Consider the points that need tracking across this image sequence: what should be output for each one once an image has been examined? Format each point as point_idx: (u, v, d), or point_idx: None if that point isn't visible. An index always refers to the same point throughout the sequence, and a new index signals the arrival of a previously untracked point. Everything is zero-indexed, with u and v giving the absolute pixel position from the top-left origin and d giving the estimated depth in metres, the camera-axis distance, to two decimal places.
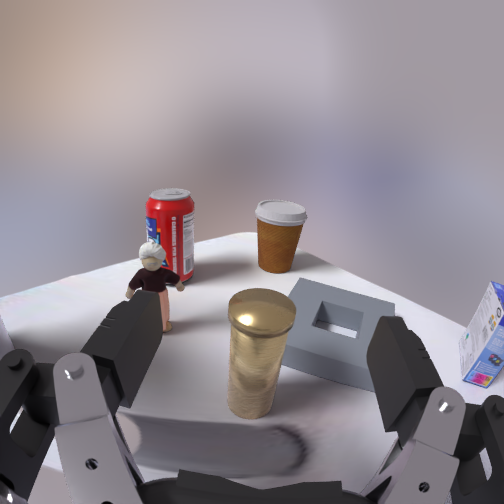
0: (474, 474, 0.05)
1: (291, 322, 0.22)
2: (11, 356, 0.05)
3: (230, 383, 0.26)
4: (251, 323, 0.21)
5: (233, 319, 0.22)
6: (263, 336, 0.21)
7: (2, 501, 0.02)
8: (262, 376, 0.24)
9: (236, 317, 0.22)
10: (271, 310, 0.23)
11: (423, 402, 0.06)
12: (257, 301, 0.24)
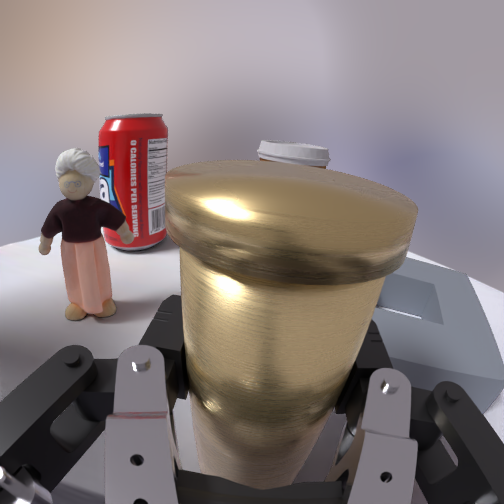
0: (438, 460, 0.05)
1: (414, 222, 0.05)
2: (69, 352, 0.06)
3: (196, 437, 0.09)
4: (255, 203, 0.04)
5: (172, 203, 0.05)
6: (316, 272, 0.04)
7: (23, 491, 0.03)
8: (288, 435, 0.07)
9: (184, 188, 0.05)
10: (329, 186, 0.06)
11: (367, 382, 0.07)
12: (273, 171, 0.07)
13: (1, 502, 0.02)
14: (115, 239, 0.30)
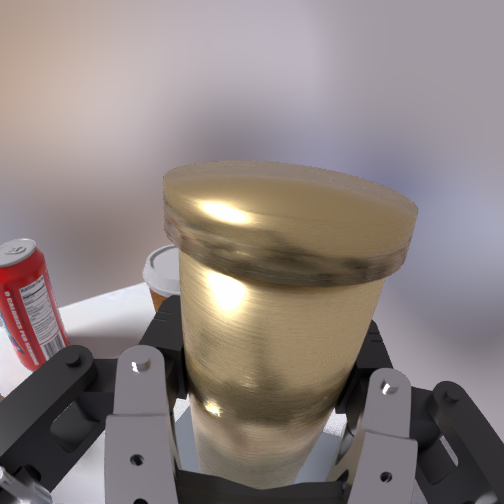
0: (438, 460, 0.05)
1: (414, 223, 0.05)
2: (69, 352, 0.06)
3: (196, 438, 0.09)
4: (254, 204, 0.04)
5: (171, 204, 0.05)
6: (315, 274, 0.04)
7: (23, 491, 0.03)
8: (288, 437, 0.07)
9: (182, 189, 0.05)
10: (328, 187, 0.06)
11: (367, 382, 0.07)
12: (272, 172, 0.07)
13: (1, 502, 0.02)
14: (23, 363, 0.25)
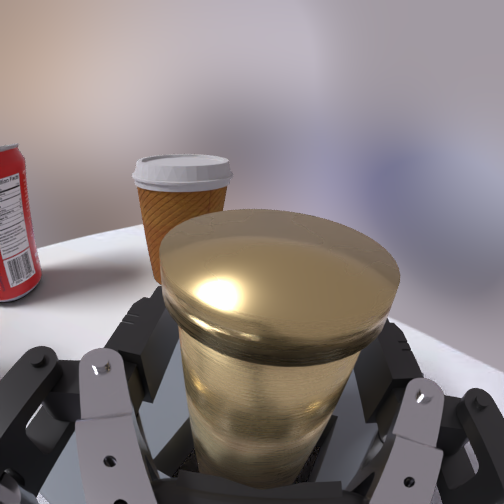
0: (460, 467, 0.05)
1: (394, 295, 0.05)
2: (34, 353, 0.06)
3: (197, 456, 0.09)
4: (240, 300, 0.05)
5: (168, 285, 0.05)
6: (294, 358, 0.05)
7: (10, 496, 0.03)
8: (278, 462, 0.07)
9: (177, 275, 0.05)
10: (316, 256, 0.06)
11: (401, 393, 0.07)
12: (263, 233, 0.07)
13: None
14: None
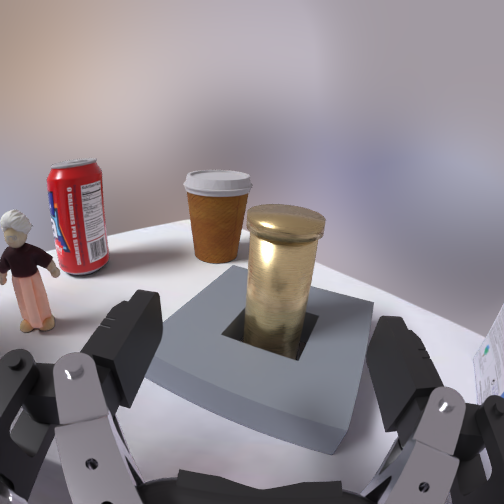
0: (474, 474, 0.05)
1: (321, 227, 0.19)
2: (11, 356, 0.05)
3: (247, 324, 0.23)
4: (276, 224, 0.18)
5: (254, 223, 0.19)
6: (291, 239, 0.18)
7: (2, 501, 0.02)
8: (288, 306, 0.20)
9: (257, 219, 0.19)
10: (297, 217, 0.20)
11: (423, 402, 0.06)
12: (279, 211, 0.21)
13: None
14: (65, 266, 0.33)
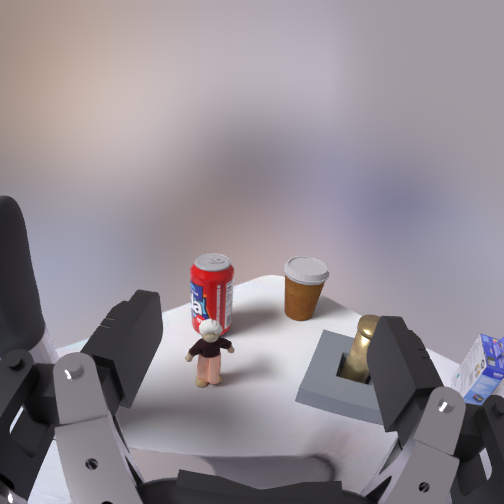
0: (474, 474, 0.05)
1: None
2: (11, 356, 0.05)
3: (348, 370, 0.43)
4: None
5: (365, 333, 0.40)
6: None
7: (2, 501, 0.02)
8: None
9: (367, 331, 0.39)
10: None
11: (423, 402, 0.06)
12: (371, 322, 0.41)
13: None
14: None
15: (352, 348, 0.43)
